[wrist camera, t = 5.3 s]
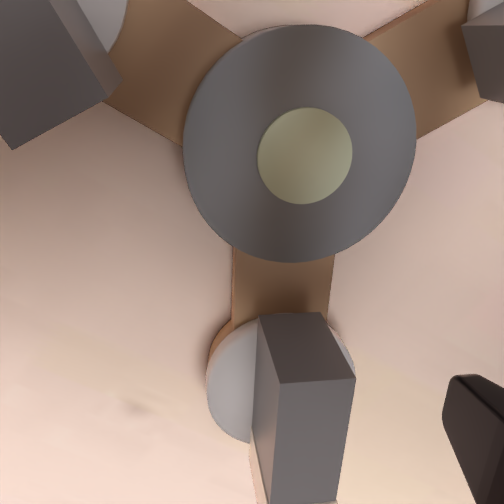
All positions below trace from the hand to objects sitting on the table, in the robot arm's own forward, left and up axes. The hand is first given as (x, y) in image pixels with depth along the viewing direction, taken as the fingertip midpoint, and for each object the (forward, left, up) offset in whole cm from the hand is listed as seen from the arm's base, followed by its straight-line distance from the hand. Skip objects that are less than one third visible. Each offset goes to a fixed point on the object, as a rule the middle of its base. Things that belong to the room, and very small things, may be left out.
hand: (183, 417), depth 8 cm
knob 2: (-4, +8, -11) cm, 14 cm away
